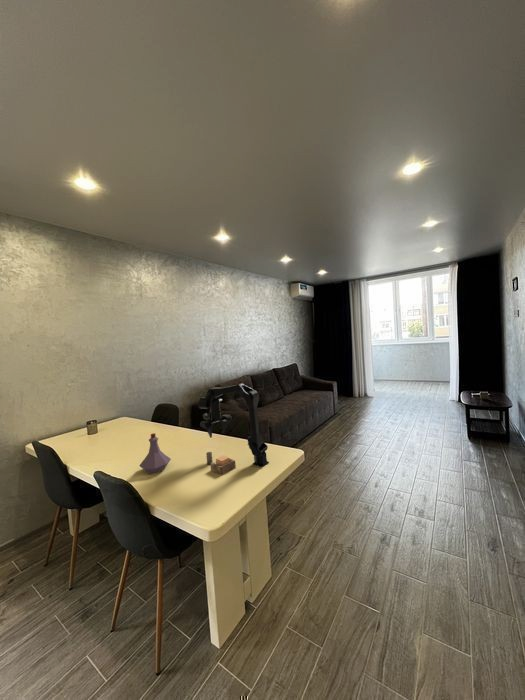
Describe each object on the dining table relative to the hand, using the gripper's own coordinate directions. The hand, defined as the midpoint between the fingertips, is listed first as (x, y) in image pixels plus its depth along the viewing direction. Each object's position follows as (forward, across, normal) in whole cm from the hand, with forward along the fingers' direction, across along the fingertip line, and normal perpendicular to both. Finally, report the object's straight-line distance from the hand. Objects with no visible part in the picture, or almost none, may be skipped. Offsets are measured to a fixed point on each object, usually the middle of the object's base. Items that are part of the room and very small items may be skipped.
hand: (217, 435), depth 157 cm
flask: (+13, +31, -16) cm, 37 cm away
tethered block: (+13, +8, +9) cm, 18 cm away
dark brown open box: (+13, +8, +14) cm, 21 cm away
